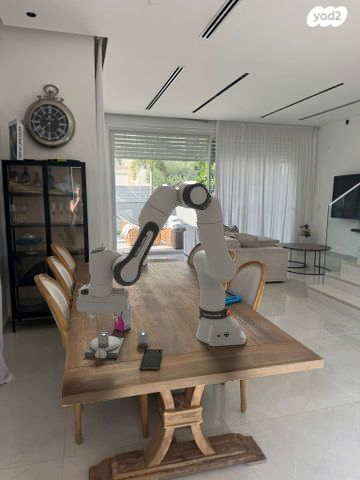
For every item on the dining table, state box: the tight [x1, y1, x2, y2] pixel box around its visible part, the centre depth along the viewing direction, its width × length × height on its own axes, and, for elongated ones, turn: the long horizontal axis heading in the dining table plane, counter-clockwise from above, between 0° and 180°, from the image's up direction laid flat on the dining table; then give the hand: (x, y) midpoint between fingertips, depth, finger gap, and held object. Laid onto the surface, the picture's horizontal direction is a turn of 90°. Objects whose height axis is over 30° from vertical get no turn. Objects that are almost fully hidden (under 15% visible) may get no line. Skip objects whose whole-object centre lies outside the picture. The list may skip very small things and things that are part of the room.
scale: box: [84, 335, 125, 359], centre depth 135 cm, size 13×14×4 cm
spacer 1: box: [97, 331, 110, 348], centre depth 132 cm, size 4×4×5 cm
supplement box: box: [113, 305, 132, 333], centre depth 154 cm, size 6×6×12 cm
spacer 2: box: [137, 330, 149, 348], centre depth 140 cm, size 4×4×5 cm
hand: (104, 321), depth 131 cm, fingers open, 8 cm apart
